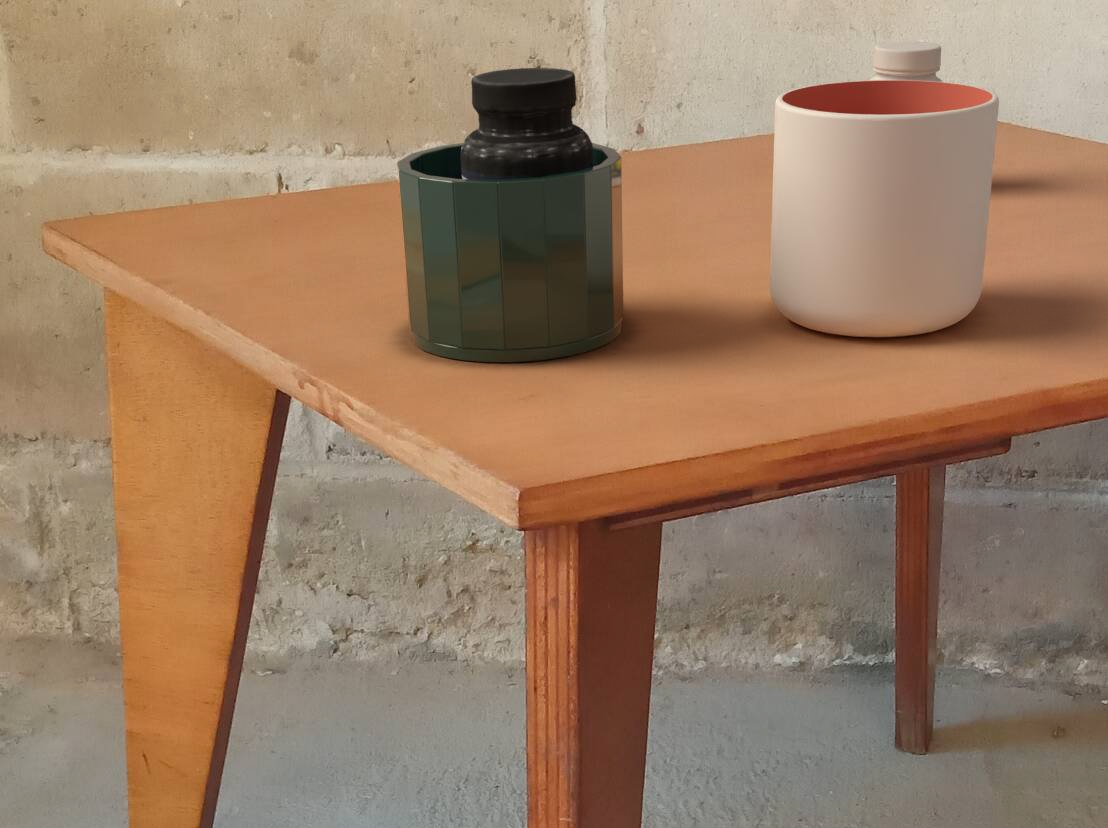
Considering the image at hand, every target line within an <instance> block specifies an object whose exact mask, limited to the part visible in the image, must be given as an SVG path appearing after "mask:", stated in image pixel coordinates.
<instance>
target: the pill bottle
mask: <svg viewBox="0 0 1108 828" xmlns="http://www.w3.org/2000/svg"><path fill="white" fill-rule="evenodd" d="M470 83H471V84H470V85H471V106H472V108H473V109H474V110H475V112H476V113H477V115H478V119H477V120H478V127H477V129H475V130H473V131H472V132H471V133H470V134H468V135H467V136H466V138H465V139H464V141H463V142H462V143H463V145H462V148H461V156H460V158H461V171H462V179H478V180H505V179H521V178H537V177H545V176H551V175H558V174H565V173H571V172H577V171H580V170H584V169H587V168H591V167H593V153H594V152H593V145H592V143H593V142H592V140H591V138H590V136H589V134H588V133H587V132H586V131H585V130H584V129H583V128H582V127H580V126H578V125H577V124H574V122H573V112H572V111H573V108H574V107H575V106H576V104H577V89H576V88H577V85H576V75H575V72H573V71H572V70H568V69H563V68H554V67H521V68H509V69H500V70H492V71H487V72H483V73H480V74H477V75H474V76H473V77H471V82H470Z"/></svg>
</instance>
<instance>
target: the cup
mask: <svg viewBox="0 0 1108 828" xmlns="http://www.w3.org/2000/svg"><path fill="white" fill-rule="evenodd" d="M774 103H775V104H774V130H773V131H774V132H773V135H774V137H773V164H772V165H773V167H772V197H771V198H772V199H771V200H772V201H771V228H770V229H771V230H770V232H771V235H770V236H771V237H770V262H769V263H770V264H769V265H770V266H769V270H770V271H769V293H770V297H771V300H772V302H773V303H774V305H775V307H776V309H777V310H778V311H779V312H780V314H782V315H783V317H785V318H786V319H788V320H789V321H790V322H793V323H795V324H797V325H799V326H802V327H804V328H807V329H809V330H812V331H816V332H820V333H825V334H831V335H836V336H837V335H838V336H846V337H857V338H858V337H859V338H895V337H906V336H907V337H908V336H916V335H922V334H927V333H928V334H929V333H932V332H936V331H939V330H942V329H946V328H948V327H950V326H953V325H955V324H956V323H958V322H960V321H961V320H963V319H965V318H966V317H967V316H968V315H969V314H970V313H971V312H972V311H973V310H974V309H975V307H976V306H977V304H978V302H979V300H980V298H981V295H982V290H983V280H984V271H985V260H986V259H985V258H986V249H987V238H988V227H989V215H990V207H991V206H990V205H991V194H992V184H993V183H992V182H993V174H994V173H993V172H994V163H995V161H994V160H995V152H996V151H995V150H996V141H997V140H996V139H997V130H998V129H997V128H998V120H999V119H998V118H999V107H1000V99H999V96H998V95H997V94H996V93H995V92H993V91H991V90H990V89H989V90H988V89H986V88H982V87H978V86H975V85H970V84H962V83H957V82H956V83H955V82H948V81H947V82H946V81H944V82H943V81H942V82H935V81H917V80H870V79H868V80H851V81H838V82H829V83H821V84H815V85H807V86H802V87H799V88H794V89H790V90H788V91H786V92H783V93H782V94H780V95H778V97H776V99H775V102H774Z"/></svg>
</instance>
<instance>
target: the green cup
mask: <svg viewBox="0 0 1108 828" xmlns="http://www.w3.org/2000/svg"><path fill="white" fill-rule="evenodd" d="M463 143H464V142H460V143H452V144H445V145H444V144H443V145H439V146H435V147H431V148H428V149H427V148H426V149H424V150H419V151H416V152H412V153H410V154H409V155H407V156H405V157H403V158H401V159H400V160H398V161H397V162H396V171H397V183H398V199H399V210H400V223H401V226H400V227H401V236H402V238H401V239H402V249H403V250H402V251H403V263H404V265H403V266H404V276H405V277H404V278H405V288H406V289H405V290H406V304H407V315H408V324H409V333H410V339H411V342H412V343H413V344H414V345H415V346H416V347H418V348H419V349H421V350H423V351H424V352H427V353H430V354H433V355H436V356H439V357H443V358H446V359H447V358H448V359H452V360H453V359H454V360H460V361H468V362H479V363H523V362H525V363H526V362H527V363H528V362H537V361H548V360H554V359H559V358H561V359H562V358H566V357H571V356H575V355H579V354H583V353H586V352H590V351H593V350H596V349H598V348H601V347H603V346H605V345H607V344H609V343H611V342H612V341H615V340H616V339H617V338H618V337H619V335H620V334H621V332H622V327H623V322H622V321H623V318H624V256H623V255H624V254H623V253H624V252H623V251H624V250H623V246H624V245H623V184H622V183H623V181H622V179H623V177H622V176H623V175H622V174H623V173H622V171H623V169H622V156H621V155H620V154H619V152H618V151H617V150H616V149H615V148H612V147H609V146H605V145H603V144H598V143H594V142H592V145H593V152H594V153H593V167H591V168H587V169H584V170H580V171H577V172H571V173H565V174H558V175H551V176H545V177H537V178H521V179H505V180H478V179H462V171H461V158H460V156H461V148H462V145H463Z"/></svg>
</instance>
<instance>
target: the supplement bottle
mask: <svg viewBox="0 0 1108 828" xmlns="http://www.w3.org/2000/svg"><path fill="white" fill-rule="evenodd" d="M941 62H942V45H941V44H938V43H933V42H926V41H893V42H884V43H879V44H876V45H875V46H874V49H873V61H872V66H873V67H872V71H873V72H874V73H875V76H873V77H872V78H870V79H869V80H917V81H935V82H943V80H942V79H941V78H940V77H938V76H937V74H936V73H938V72H939V71H941V65H942V63H941Z"/></svg>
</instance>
